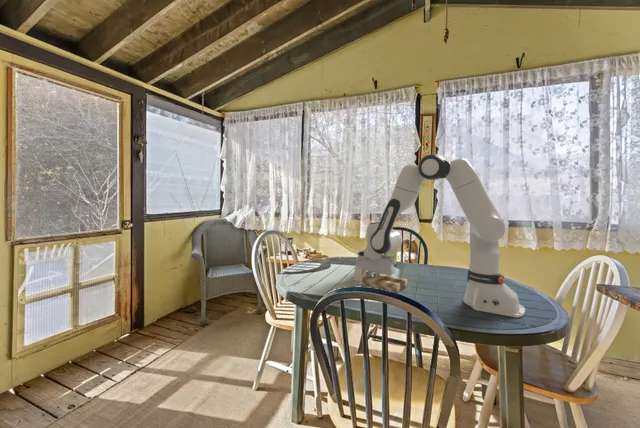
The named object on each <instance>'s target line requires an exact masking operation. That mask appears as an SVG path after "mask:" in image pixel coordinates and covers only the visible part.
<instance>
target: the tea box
mask: <svg viewBox="0 0 640 428" xmlns="http://www.w3.org/2000/svg"><path fill="white" fill-rule="evenodd" d="M384 255H387V256H391V257H392V258H393V259H394V273H396V272H397V256H398V248H396V249H393V250H391V251H388V252H386V253H384ZM394 273H393V274H394ZM368 274H369V273H368ZM380 274H382V273H380ZM369 275H370V274H369ZM369 275H368V276H369ZM385 275H387V274H385Z"/></svg>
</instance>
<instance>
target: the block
mask: <svg viewBox="0 0 640 428" xmlns="http://www.w3.org/2000/svg"><path fill="white" fill-rule="evenodd" d="M353 271H354V273H353V275H354V276H353V280H354V281H356V282H358V283H362V277H363V276H367V270H363V269H361V268H357V267H356V266H355V267H354V270H353Z"/></svg>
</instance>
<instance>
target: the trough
mask: <svg viewBox="0 0 640 428" xmlns="http://www.w3.org/2000/svg"><path fill="white" fill-rule="evenodd" d="M373 275H374V276H376V275H377V274H376V272H373ZM361 285H362V286H365V285H366V286H365V287H369V288H370V287H371V288H373V287H374V289H377V288H379V290H381V289H384V290H383V291H386V290H388V291H387V292H390V291H392V292H391V293H394V292H395V294H398V293H400V292H402V291H403V290H405V289H406V288H407V287H408V279H407V278H403V277H399V276H396V275H395V276H394V275H385V274H380V275H379V276H378V278H374V277H371V276H369V275H366V276H363V277H362V282H361Z"/></svg>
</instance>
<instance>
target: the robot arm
mask: <svg viewBox="0 0 640 428" xmlns="http://www.w3.org/2000/svg"><path fill="white" fill-rule="evenodd" d="M440 179H445V180H446V181H447V182H448V184H449V186H450V187H451V189H452V192H453V194H454V196H455V197H456V199H457V201H458V202H457V203H458V204H459V206H460V208H461V210H462V212H463V213H464V216H465V217H466V219H467V221H468V223H469V263H468V269H467V273H466V274H467V275H466V282H467V286H466V290H465V294H464V296H463V298H462V302H463V303H464V304H466V305H467V306H469V307H471V308H472V309H473V310H474V311H478V312H484V313H489V314H494V315H500V316H506V317H512V318H517V319H518V318H522V317H523V316H524V315H525V314H526V308H525V307H524V306H523V304H520V301H519V297H518V294H517V292H515V291H514V290H513V289H511V288H510V287H509V286H508V285H506V284H505V275H504V274H501V273H500V259H501V257H500V256H501V253H500V247H499V245H500V244H499V240H500V239H501V238H502V237H504V235H505V232H506V224H505V222H504V221H503V219H502V217H501V215H500V213H499V211H498V210H497V207H496V206H495V205H494V203H493V202H492V200H491V199H490V197H489V194H487V191H486V189H485V187H484V185H483V183H482V181H481V179H480V177H479V176H478V174H477V172H476V170H475V168H474V167H473V166H472V165H471V163H470V162H469V160H468V159H466V158H457V159H454V160H451V161H449V160H448V159H446V157H444V156H443V155H441V154H438V153H437V154H436V153H430V154H426V155H425V156H423V157H422V158H421V159H420V160H419V162H418V165H416V164H407V165H404V166H403V168H402V169H401V170H400V173H399V174H398V177H397V179H396V182H395V186H394V187H393V191H392V193H391V196H390V198H389V201H388V203H387V205H386V206H385V207H384V208H385V209H384V211H383V213H382V216H381V218H380V220H379V221H376V222H370V223H369V224H367V227H366V234H365V235H366V236H365V238H366V247H365V249H362V250H359V251H357V257H356V259H355V261H356V263H355V264H356V265H355V267H357V268H361V269H363V270H366V272H368V274H370V276H371V277H374V278H378V276H379V275H380V273H382V274H387V275H390V276H393V274H394V259H393V258H392V257H391V256H387V255H384V253H386V252H388V251H391V250H393V249H396V248H397V249H399V248H400V247H401V246H402V245H403V242H404V241H403V240H404V239H403V236H402V233H401V232H400V231H399V230H395V229H393V227H394V226H395V223H396V221H397V219H398V217H399V216H400V215H401V214H402V213H403V212H405V211H406V210H408V209H409V208H411V207H413V206H414V204H415V203H416V201H417V199H418V196H419V194H420V191H421V187H422V185H423V182H425V181H426V180H429V181H430V180H431V181H435V180H440ZM373 272H376V274H377V275H376V276H374V275H373ZM370 276H369V277H370Z"/></svg>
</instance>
